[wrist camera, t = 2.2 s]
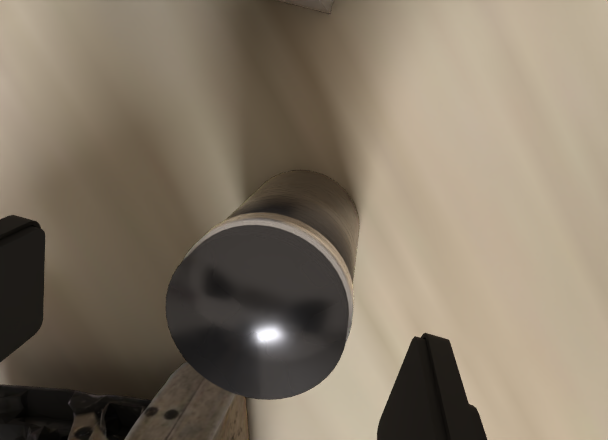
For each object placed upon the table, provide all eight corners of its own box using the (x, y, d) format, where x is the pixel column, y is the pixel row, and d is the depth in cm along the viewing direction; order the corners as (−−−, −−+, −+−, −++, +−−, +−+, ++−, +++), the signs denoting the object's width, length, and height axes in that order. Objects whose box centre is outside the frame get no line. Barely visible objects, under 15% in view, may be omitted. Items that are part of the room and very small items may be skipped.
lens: (376, 186, 18) (376, 265, 11) (343, 293, 20) (322, 424, 12) (258, 153, 18) (176, 206, 11) (235, 261, 20) (151, 370, 13)
